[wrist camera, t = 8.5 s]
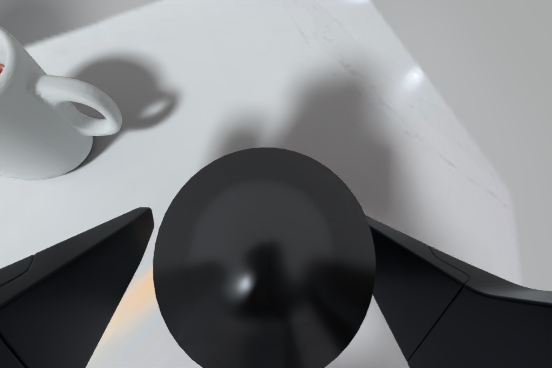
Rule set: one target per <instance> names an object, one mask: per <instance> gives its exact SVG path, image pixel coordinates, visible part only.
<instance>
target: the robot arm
mask: <svg viewBox="0 0 552 368" xmlns="http://www.w3.org/2000/svg"><path fill="white" fill-rule="evenodd" d="M365 216H366V215H365ZM366 218H367V221H368V224H369V227H370V230H371V234H372V238H373V243H374V250H375V258H376V273H375V282H374V289H373V296H374V298H375V300H376V302H377V304H378V306H379V308H380V310H381V312H382V314H383V316H384V318H385V320H386V322H387V324H388V326H389V328H390V330H391V332H392V333H393V335H394V337H395V339H396V341H397V343H398V345H399V347H400V349H401V351H402V353H403V355H404V357H405V359H406V361H407V362H408V365H409V367H410V368H552V291H542V290H536V289H531V288H527V287H523V286H520V285H517V284H514V283H512V282H509V281H507V280H505V279H502V278H500V277H498V276H495V275H493V274H491V273H488V272H486V271H484V270H482V269H479V268H477V267H475V266H472V265H470V264H468V263H465V262H463V261H461V260H459V259H456V258H454V257H452V256H450V255H448V254H446V253H443V252H441V251H439V250H437V249H435V248H433V247H431V246H428V245H426V244H424V243H422V242H420V241H418V240H416V239H414V238H412V237H410V236H408V235H406V234H403V233H401V232H399V231H397V230H395V229H393V228H391V227H389V226H387V225H385V224H382V223H380V222H378V221H376V220H374V219H372V218H370V217H368V216H366ZM153 229H154V220H153V214H152V210H151V208H149V207H139V208H137V209H134V210H132V211H130V212H128V213H125V214H123V215H121V216H119V217H116V218H114V219H112V220H110V221H107V222H105V223H103V224H101V225H98V226H96V227H94V228H92V229H89V230H87V231H85V232H83V233H80V234H78V235H76V236H74V237H71V238H69V239H67V240H65V241H63V242H60V243H58V244H56V245H54V246H51V247H49V248H47V249H45V250H42V251H40V252H38V253H36V254H35V255H31V256H29V257H26V258H24V259H22V260H20V261H18V262H15V263H13V264H11V265H8V266H6V267H4V268H1V269H0V368H86V366H87V364H88V362H89V360H90V358H91V356H92V354H93V352H94V350H95V349H96V347H97V345H98V343H99V341H100V339H101V337H102V335H103V333H104V331H105V329H106V328H107V326H108V324H109V322H110V320H111V318H112V316H113V314H114V312H115V310H116V308H117V307H118V305H119V303H120V301H121V299H122V297H123V295H124V293H125V291H126V289H127V287H128V285H129V284H130V282H131V280H132V278H133V276H134V274H135V272H136V270H137V268H138V266H139V264H140V262H141V260H142V258H143V255H144V253H145V250H146V248H147V245H148V242H149V240H150V237H151V234H152V232H153Z"/></svg>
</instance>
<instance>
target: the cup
mask: <svg viewBox="0 0 552 368" xmlns="http://www.w3.org/2000/svg"><path fill="white" fill-rule="evenodd" d="M71 101H72V102H78V103H82V104H85V105H88V106H90V107H92V108H94V109H96V110H97V111H99V112H100V113H101V114H102V115H104V116H105V118H106V119H97V118H92V117H89V116H87V115H84V114H83V113H81V112H79V111H78V109H77V108H76V107H75V106H74V105H73V104H72V103H71ZM121 126H122V116H121V112H120V110H119V108H118V106H117V105H116V104H115V102H114V101H113V100H112V99H111V98H110V97H109V96H108V95H107V94H106V93H105V92H103V91H102V90H100V89H99V88H97V87H95V86H94V85H92V84H89V83H87V82H84V81H81V80H77V79H73V78H67V77H61V76H52V75H47V74H46V73H45V72H44V71H43V69H42V68H41V67H40V66H39V65H38V64H37V63H36V61H35V60H34V59H33V58H32V57H31V56H30V55H29V54H28V52H27V51H26V50H25V49H24V48H23V47H22V46H21V44H20V43H19V42H18V41H17V40H16V39H15V38H14V37H13V36H12V35H11V34H10V33H9V32H7V31H6V30H5V29H4V28H2V27H1V26H0V177H5V178H10V179H17V180H45V179H50V178H54V177H57V176H60V175H63V174H65V173H67V172H69V171H71V170H73V169H74V168H76V167H77V166H78V165H79V164H81V163H82V162H83V161H84V160H85V158H86V157H87V156H88V154H89V152H90V150H91V148H92V144H93V136H106V135H112V134H115V133H117V132H118V131H119V130H120V129H121Z"/></svg>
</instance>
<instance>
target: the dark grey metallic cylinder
mask: <svg viewBox="0 0 552 368" xmlns="http://www.w3.org/2000/svg"><path fill="white" fill-rule="evenodd" d="M375 273H376V258H375V250H374V243H373V238H372V234H371V230H370V227H369V224H368V221H367V218H366V216H365V214H364V212H363V210H362V208H361V206H360V204H359V202H358V201H357V199H356V198H355V196H354V195H353V193H352V192H351V191H350V189H349V188H348V187H347V185H346V184H345V183H344V182H343V181H342V180H341V179H340V178H339V177H338V176H337V175H336V174H334V173H333V172H332V171H331V170H330V169H328V168H327V167H325V166H324V165H322V164H321V163H319V162H318V161H316V160H314V159H312V158H310V157H308V156H305V155H303V154H300V153H297V152H294V151H290V150H286V149H279V148H263V147H262V148H251V149H246V150H241V151H237V152H234V153H231V154H228V155H225V156H223V157H221V158H219V159H217V160H215V161H213V162H212V163H210V164H208V165H207V166H205V167H204V168H202V169H201V170H200V171H199V172H197V173H196V174H195V175H194V176H193V177H191V179H190V180H189V181H188V182H187V183H186V184H185V185H184V186H183V187H182V188H181V190H180V191H179V192H178V194H177V195H176V196H175V198H174V199H173V201H172V202H171V204H170V206H169V208H168V210H167V211H166V213H165V216H164V218H163V221H162V223H161V225H160V228H159V232H158V235H157V239H156V243H155V250H154V258H153V281H154V287H155V293H156V299H157V302H158V305H159V308H160V312H161V315H162V317H163V319H164V321H165V323H166V325H167V327H168V329H169V331H170V333H171V334H172V336H173V337H174V339H175V340H176V342H177V343H178V345H179V346H180V347H181V348H182V349H183V350H184V351H185V353H186V354H187V355H188V356H189V357H190V358H191V359H192V360H193V361H195V362H196V363H197V364H199V365H200V366H201V367H203V368H324V367H326V366H327V365H328V364H329V363H331V362H332V361H333V360H334V359H336V358H337V357H338V356H339V355H340V354H341V352H342V351H343V350H344V349H345V348H346V347H347V346H348V345H349V343H350V342H351V341H352V339H353V338H354V336H355V335H356V333H357V332H358V330H359V328H360V326H361V324H362V322H363V320H364V318H365V316H366V313H367V311H368V308H369V305H370V302H371V298H372V294H373V289H374V282H375Z"/></svg>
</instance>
